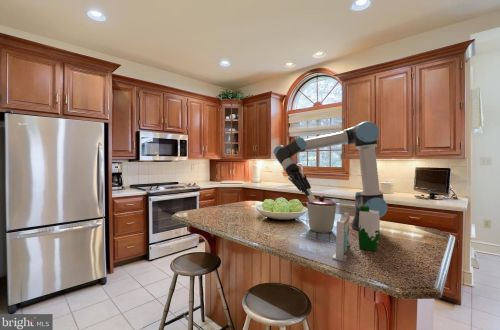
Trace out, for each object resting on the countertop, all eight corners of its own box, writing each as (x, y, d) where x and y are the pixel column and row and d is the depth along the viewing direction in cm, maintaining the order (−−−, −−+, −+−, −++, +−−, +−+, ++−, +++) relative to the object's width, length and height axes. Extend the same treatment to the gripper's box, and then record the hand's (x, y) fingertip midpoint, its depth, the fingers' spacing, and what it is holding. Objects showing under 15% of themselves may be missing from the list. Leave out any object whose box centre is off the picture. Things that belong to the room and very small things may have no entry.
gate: (343, 243, 125) (343, 217, 125) (347, 243, 124) (348, 217, 124) (337, 253, 111) (338, 224, 111) (342, 254, 110) (343, 224, 110)
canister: (307, 234, 144) (308, 197, 143) (304, 226, 162) (304, 193, 161) (340, 235, 142) (341, 198, 141) (333, 227, 160) (333, 194, 159)
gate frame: (341, 242, 130) (342, 211, 129) (351, 244, 127) (352, 212, 127) (332, 259, 108) (333, 222, 107) (345, 261, 105) (346, 223, 105)
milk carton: (359, 243, 129) (360, 204, 128) (379, 247, 124) (380, 206, 123) (356, 248, 121) (358, 207, 121) (377, 252, 116) (379, 209, 116)
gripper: (294, 171, 152) (316, 203, 139) (279, 172, 144) (300, 205, 131) (301, 162, 147) (325, 194, 134) (285, 162, 140) (308, 196, 127)
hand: (313, 200), depth 133 cm, fingers closed
